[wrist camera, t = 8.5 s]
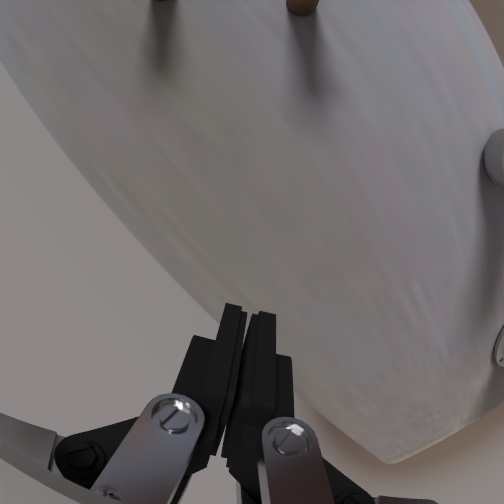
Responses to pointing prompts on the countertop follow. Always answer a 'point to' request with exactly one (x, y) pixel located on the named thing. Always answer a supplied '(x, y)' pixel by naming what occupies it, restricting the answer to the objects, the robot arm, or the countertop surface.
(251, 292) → the countertop surface
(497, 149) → the plastic bottle
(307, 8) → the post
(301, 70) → the countertop surface
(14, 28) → the countertop surface
